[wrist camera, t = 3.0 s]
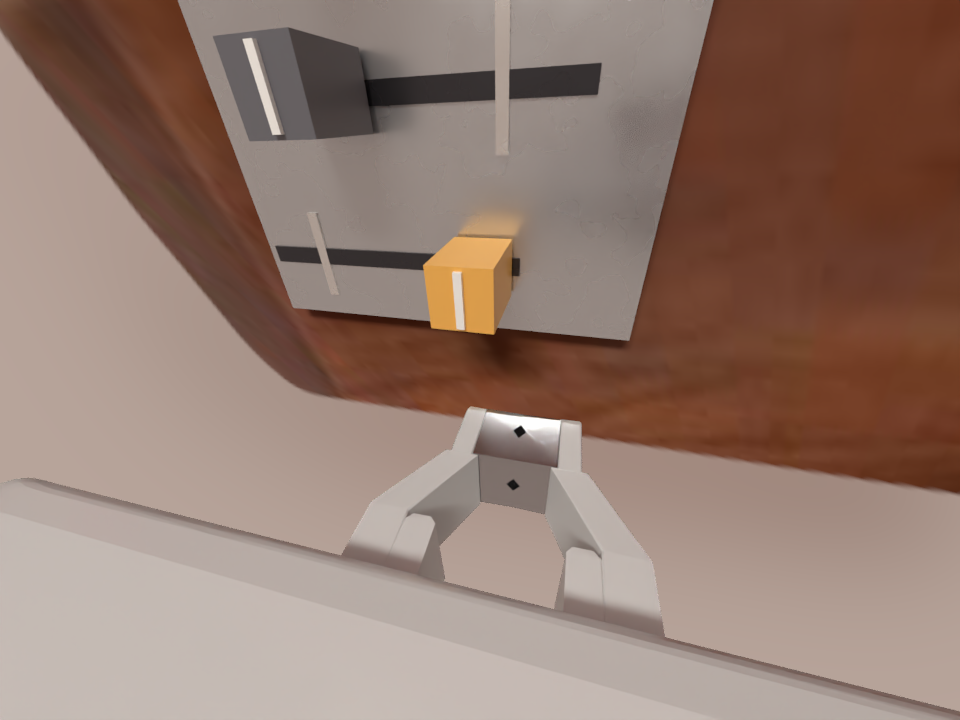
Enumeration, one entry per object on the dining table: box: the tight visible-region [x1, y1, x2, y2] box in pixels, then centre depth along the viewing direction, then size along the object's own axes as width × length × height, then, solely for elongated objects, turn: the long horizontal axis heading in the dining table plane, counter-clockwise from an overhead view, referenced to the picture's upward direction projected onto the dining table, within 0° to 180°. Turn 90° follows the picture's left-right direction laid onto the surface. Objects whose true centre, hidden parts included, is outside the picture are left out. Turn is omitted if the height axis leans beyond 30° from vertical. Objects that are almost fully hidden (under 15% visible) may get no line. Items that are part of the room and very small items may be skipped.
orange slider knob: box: [423, 237, 512, 335], centre depth 18 cm, size 3×3×5 cm
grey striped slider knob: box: [213, 27, 374, 141], centre depth 15 cm, size 3×3×5 cm
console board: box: [178, 0, 714, 341], centre depth 19 cm, size 23×16×1 cm
